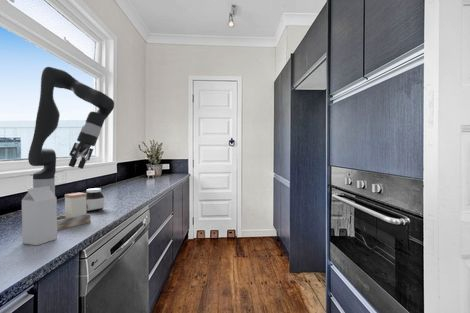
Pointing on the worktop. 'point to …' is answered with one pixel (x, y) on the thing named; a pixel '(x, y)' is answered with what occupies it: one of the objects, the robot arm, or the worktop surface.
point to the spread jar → (94, 200)
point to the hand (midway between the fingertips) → (75, 167)
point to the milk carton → (39, 216)
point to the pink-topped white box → (75, 205)
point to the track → (72, 221)
